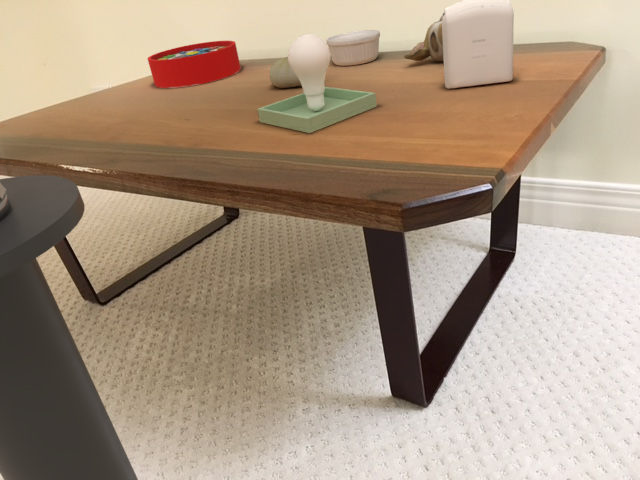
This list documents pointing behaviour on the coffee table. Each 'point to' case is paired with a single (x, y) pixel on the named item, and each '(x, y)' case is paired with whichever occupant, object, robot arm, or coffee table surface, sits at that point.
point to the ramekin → (354, 47)
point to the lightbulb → (310, 67)
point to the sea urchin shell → (283, 74)
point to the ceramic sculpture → (429, 44)
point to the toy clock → (194, 64)
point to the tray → (307, 120)
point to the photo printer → (478, 43)
